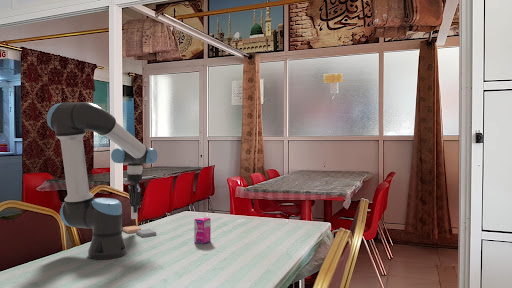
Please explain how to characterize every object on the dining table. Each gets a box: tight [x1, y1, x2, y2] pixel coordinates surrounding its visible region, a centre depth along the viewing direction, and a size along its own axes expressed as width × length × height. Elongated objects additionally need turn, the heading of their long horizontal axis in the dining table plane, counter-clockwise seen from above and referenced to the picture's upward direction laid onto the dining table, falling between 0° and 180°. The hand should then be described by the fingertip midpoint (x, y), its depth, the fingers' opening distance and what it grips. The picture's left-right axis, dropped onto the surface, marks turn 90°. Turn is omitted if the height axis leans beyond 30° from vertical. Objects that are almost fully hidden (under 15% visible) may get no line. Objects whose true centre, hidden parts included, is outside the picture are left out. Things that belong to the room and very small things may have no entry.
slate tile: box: [136, 228, 157, 238], centre depth 203 cm, size 7×2×9 cm
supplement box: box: [193, 216, 212, 245], centre depth 188 cm, size 6×6×12 cm
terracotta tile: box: [122, 225, 142, 234], centre depth 211 cm, size 7×2×9 cm
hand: (134, 218), depth 207 cm, fingers closed
